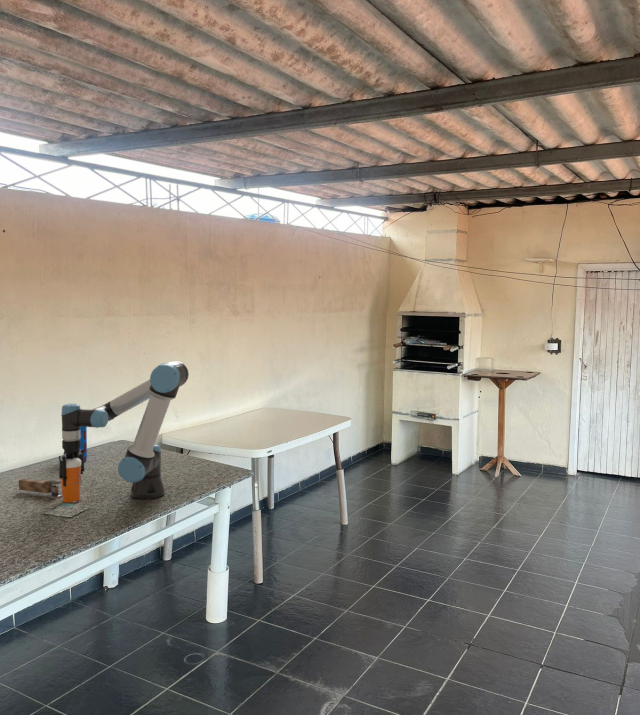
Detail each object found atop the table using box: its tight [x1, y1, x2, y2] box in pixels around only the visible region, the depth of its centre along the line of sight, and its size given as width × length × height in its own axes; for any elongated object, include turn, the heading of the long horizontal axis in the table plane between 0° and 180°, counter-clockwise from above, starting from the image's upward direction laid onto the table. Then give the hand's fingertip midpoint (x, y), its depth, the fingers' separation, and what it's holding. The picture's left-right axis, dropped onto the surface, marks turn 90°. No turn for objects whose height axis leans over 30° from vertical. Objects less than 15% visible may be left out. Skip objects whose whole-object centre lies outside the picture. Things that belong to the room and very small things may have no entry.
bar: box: [18, 478, 62, 495], centre depth 286 cm, size 21×5×6 cm, turn 73°
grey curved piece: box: [47, 484, 63, 500], centre depth 284 cm, size 6×6×5 cm
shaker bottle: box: [60, 456, 82, 503], centre depth 279 cm, size 9×9×20 cm
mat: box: [55, 502, 86, 508], centre depth 266 cm, size 13×13×1 cm
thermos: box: [79, 427, 88, 463], centre depth 343 cm, size 11×11×25 cm
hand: (72, 490), depth 280 cm, fingers open, 6 cm apart
